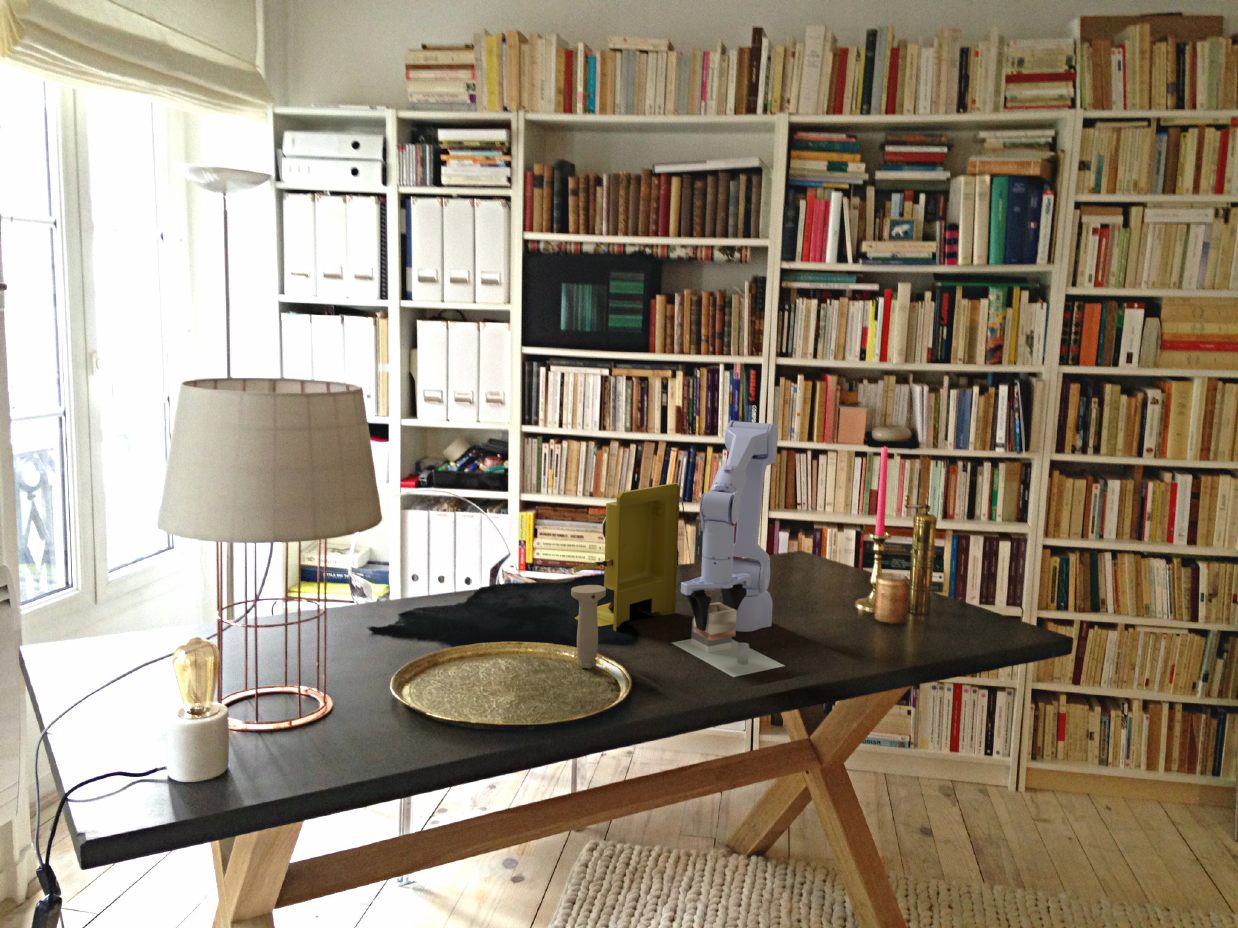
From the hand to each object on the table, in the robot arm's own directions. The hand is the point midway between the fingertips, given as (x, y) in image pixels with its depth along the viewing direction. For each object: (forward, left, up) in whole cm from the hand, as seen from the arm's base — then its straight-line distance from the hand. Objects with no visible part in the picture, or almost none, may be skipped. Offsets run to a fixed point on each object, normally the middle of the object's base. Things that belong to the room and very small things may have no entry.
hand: (714, 626), depth 188 cm
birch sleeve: (0, 0, -1) cm, 1 cm away
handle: (+20, -12, -9) cm, 25 cm away
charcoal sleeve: (-5, -7, -7) cm, 11 cm away
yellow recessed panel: (-1, -32, -9) cm, 33 cm away
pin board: (-5, -2, -8) cm, 10 cm away
